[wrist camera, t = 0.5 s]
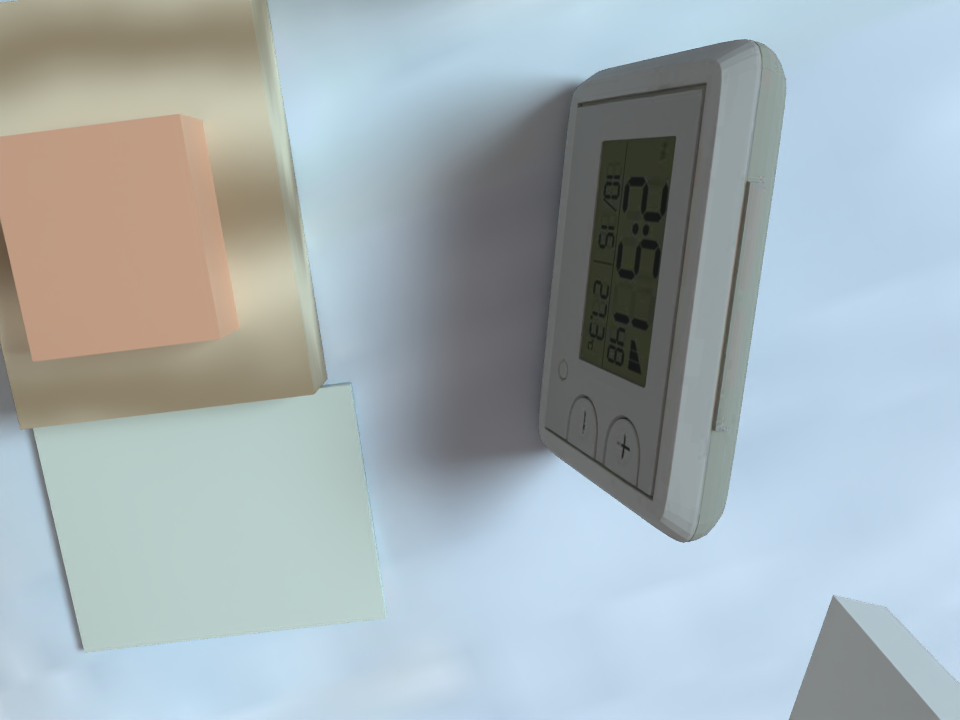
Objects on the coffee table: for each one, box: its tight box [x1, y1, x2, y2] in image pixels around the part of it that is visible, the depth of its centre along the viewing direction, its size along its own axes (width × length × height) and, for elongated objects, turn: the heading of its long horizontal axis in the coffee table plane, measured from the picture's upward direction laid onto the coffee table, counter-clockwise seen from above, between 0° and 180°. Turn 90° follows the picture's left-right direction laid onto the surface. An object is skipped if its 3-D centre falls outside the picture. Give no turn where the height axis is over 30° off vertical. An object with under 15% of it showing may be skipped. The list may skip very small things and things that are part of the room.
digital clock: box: [538, 39, 786, 543], centre depth 31 cm, size 16×9×11 cm, turn 164°
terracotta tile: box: [0, 114, 240, 362], centre depth 31 cm, size 8×7×2 cm
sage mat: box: [33, 383, 387, 653], centre depth 38 cm, size 11×14×1 cm
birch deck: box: [0, 0, 327, 430], centre depth 34 cm, size 16×12×3 cm
